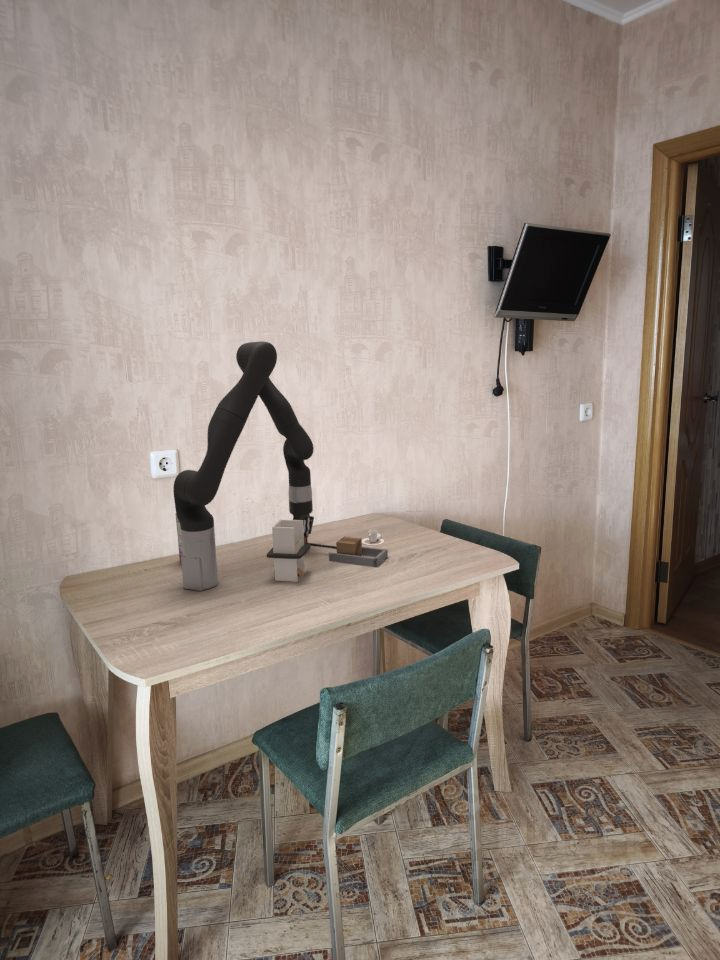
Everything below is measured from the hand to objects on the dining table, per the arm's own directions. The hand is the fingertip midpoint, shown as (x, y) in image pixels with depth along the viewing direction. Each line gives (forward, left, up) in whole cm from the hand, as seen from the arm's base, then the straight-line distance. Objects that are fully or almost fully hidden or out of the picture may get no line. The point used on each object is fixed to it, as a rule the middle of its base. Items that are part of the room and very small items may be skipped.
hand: (302, 549), depth 216 cm
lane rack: (0, -20, -1) cm, 20 cm away
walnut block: (0, -9, -1) cm, 10 cm away
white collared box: (-20, -6, -1) cm, 21 cm away
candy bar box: (-21, +26, -1) cm, 34 cm away
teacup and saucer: (+19, -20, -1) cm, 28 cm away
